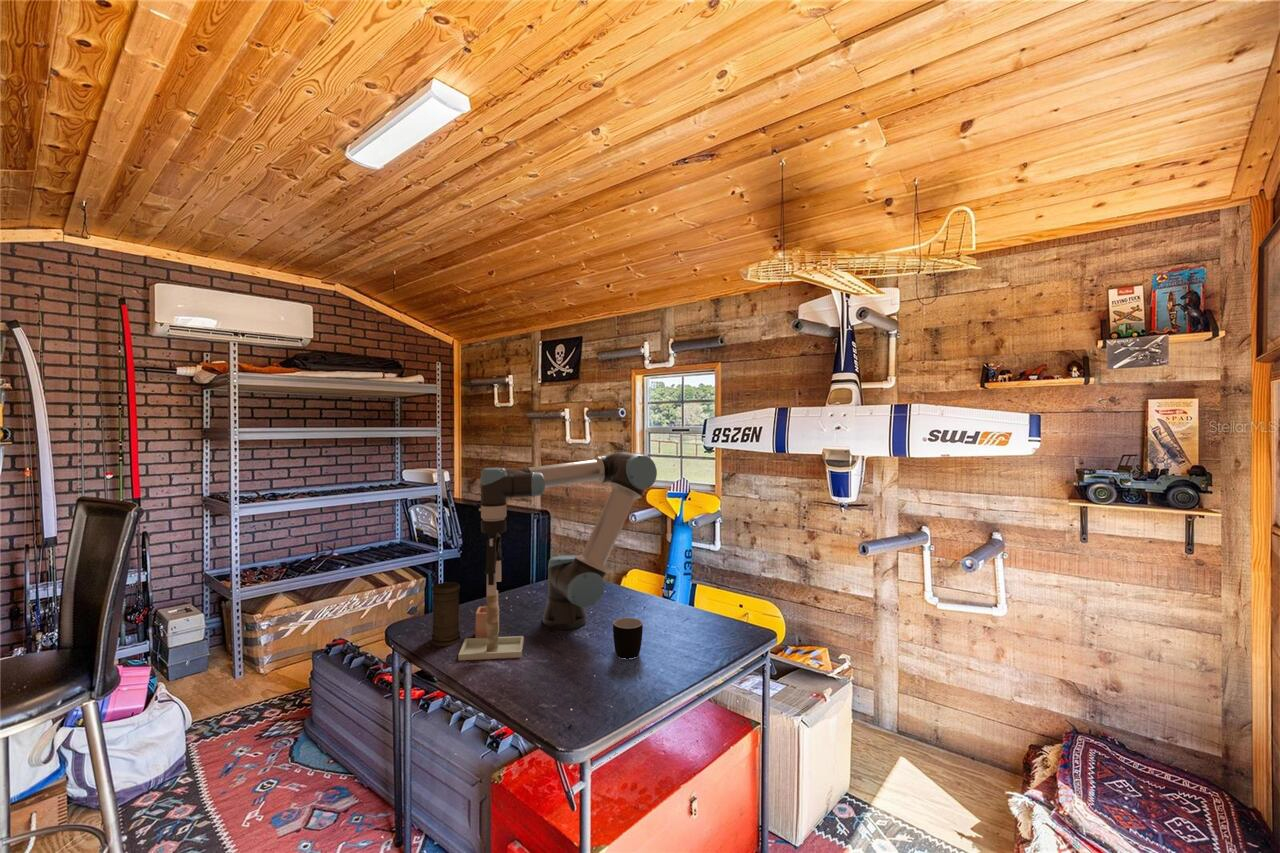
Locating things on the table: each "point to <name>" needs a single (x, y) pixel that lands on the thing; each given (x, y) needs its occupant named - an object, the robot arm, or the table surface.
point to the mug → (627, 637)
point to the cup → (482, 622)
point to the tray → (478, 650)
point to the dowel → (492, 623)
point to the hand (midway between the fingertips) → (494, 588)
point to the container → (445, 614)
